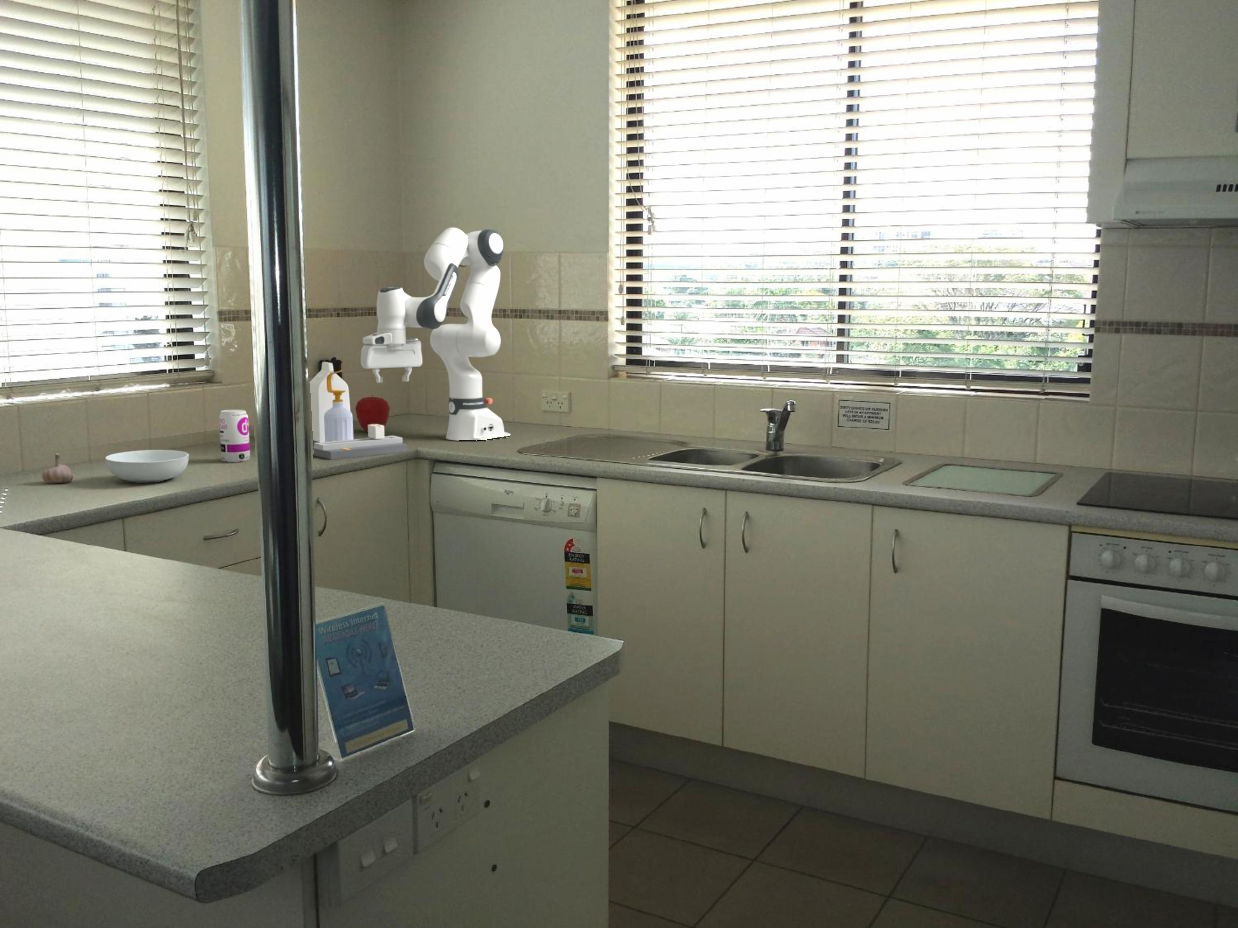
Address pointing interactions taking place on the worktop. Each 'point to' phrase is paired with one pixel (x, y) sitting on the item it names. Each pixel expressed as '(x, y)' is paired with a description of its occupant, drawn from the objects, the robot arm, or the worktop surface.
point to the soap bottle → (337, 417)
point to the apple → (372, 411)
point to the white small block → (375, 431)
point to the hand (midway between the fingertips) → (392, 382)
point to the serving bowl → (147, 465)
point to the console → (359, 447)
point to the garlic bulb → (57, 473)
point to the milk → (325, 398)
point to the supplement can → (234, 435)
